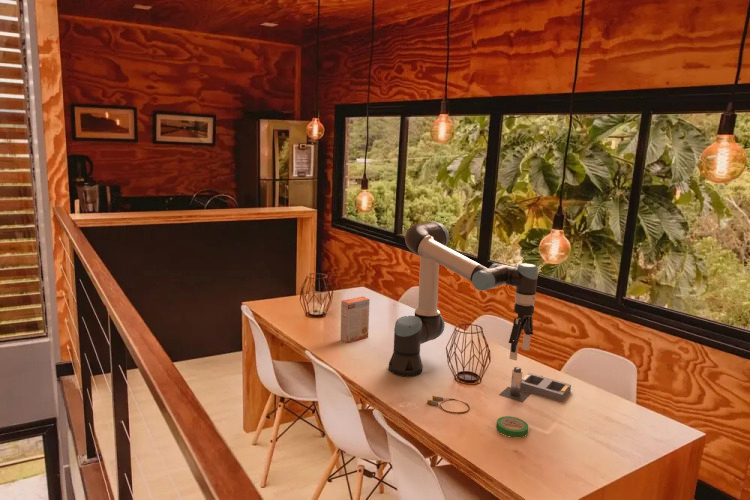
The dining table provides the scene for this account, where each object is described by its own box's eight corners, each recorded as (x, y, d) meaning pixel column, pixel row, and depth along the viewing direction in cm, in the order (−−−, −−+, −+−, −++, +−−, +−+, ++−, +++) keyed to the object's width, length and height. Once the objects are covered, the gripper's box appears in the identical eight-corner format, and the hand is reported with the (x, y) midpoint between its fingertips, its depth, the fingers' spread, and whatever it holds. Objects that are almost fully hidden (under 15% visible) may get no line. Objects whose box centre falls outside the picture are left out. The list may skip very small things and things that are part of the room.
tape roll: (527, 425, 203) (527, 418, 203) (528, 440, 192) (529, 433, 192) (496, 420, 205) (497, 413, 205) (495, 435, 195) (496, 428, 194)
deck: (522, 404, 218) (522, 402, 218) (498, 397, 224) (498, 394, 223) (531, 395, 226) (531, 393, 226) (507, 388, 232) (508, 386, 231)
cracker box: (361, 334, 287) (362, 295, 283) (368, 338, 282) (370, 298, 278) (339, 339, 278) (340, 299, 274) (346, 343, 274) (348, 303, 269)
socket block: (561, 404, 220) (562, 394, 219) (517, 390, 230) (518, 381, 229) (570, 393, 230) (571, 384, 229) (527, 381, 240) (528, 372, 239)
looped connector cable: (443, 394, 225) (443, 390, 224) (475, 409, 214) (475, 404, 213) (423, 403, 216) (424, 398, 216) (456, 419, 205) (456, 414, 205)
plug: (517, 397, 222) (520, 371, 220) (508, 394, 224) (511, 368, 222) (521, 394, 225) (524, 368, 223) (512, 391, 227) (514, 365, 225)
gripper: (522, 312, 205) (517, 366, 209) (544, 298, 225) (539, 347, 229) (503, 308, 209) (498, 361, 213) (526, 295, 229) (521, 343, 233)
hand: (519, 354), depth 221 cm, fingers open, 13 cm apart
